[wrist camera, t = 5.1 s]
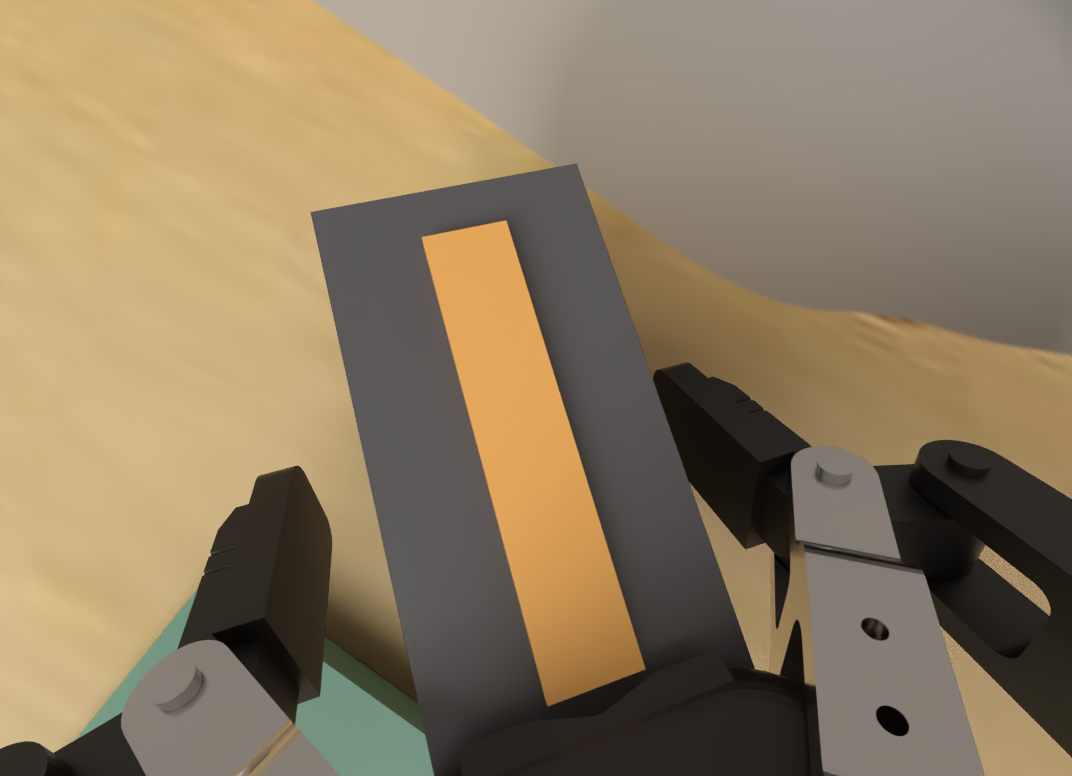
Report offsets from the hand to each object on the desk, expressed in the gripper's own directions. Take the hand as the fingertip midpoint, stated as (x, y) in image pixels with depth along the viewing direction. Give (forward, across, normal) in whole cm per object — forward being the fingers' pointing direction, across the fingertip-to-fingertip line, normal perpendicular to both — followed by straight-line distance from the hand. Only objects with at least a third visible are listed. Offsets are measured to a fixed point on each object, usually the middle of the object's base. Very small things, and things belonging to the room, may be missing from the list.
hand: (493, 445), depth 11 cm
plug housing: (+3, 0, +4) cm, 5 cm away
